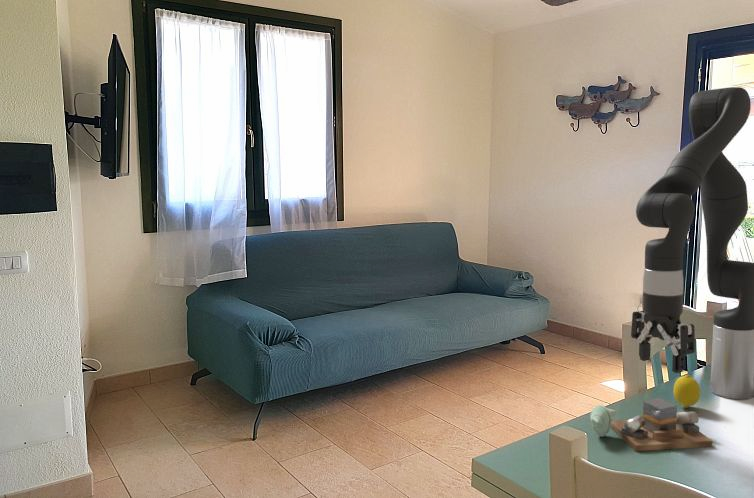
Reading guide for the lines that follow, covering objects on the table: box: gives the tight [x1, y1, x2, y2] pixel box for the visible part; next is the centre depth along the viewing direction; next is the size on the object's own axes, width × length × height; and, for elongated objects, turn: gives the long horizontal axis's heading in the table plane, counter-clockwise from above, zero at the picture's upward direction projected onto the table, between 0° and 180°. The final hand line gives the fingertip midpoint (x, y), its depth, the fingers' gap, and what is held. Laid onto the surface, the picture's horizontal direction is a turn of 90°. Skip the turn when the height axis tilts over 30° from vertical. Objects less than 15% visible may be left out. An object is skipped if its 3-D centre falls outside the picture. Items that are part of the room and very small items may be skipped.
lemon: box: [673, 374, 701, 409], centre depth 138 cm, size 6×6×8 cm
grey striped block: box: [642, 397, 678, 433], centre depth 124 cm, size 5×5×6 cm
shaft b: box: [622, 415, 648, 440], centre depth 123 cm, size 4×4×4 cm
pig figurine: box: [589, 404, 617, 438], centre depth 125 cm, size 8×4×7 cm, turn 131°
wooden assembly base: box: [610, 411, 713, 452], centre depth 125 cm, size 16×12×5 cm
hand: (660, 365), depth 123 cm, fingers open, 8 cm apart
